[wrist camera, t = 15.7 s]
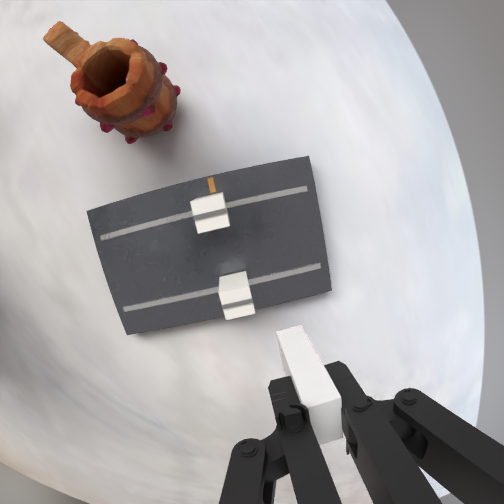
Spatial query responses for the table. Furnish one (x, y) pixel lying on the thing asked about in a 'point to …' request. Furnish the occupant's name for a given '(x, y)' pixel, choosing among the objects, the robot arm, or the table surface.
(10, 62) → the table surface
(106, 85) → the mug
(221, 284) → the fader far
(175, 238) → the console
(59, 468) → the table surface
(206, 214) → the fader near
